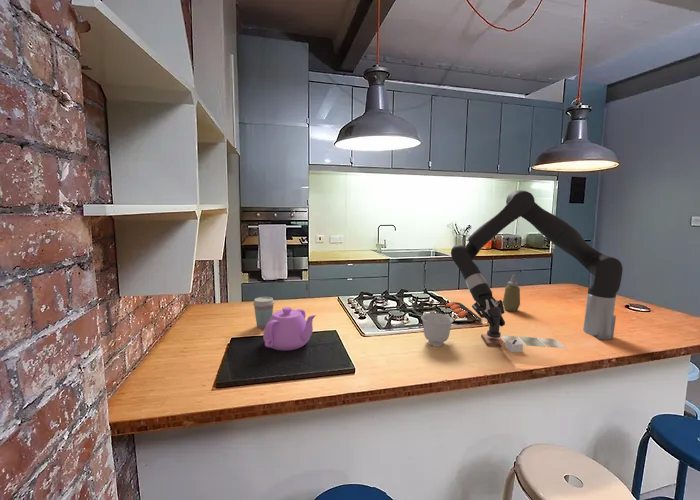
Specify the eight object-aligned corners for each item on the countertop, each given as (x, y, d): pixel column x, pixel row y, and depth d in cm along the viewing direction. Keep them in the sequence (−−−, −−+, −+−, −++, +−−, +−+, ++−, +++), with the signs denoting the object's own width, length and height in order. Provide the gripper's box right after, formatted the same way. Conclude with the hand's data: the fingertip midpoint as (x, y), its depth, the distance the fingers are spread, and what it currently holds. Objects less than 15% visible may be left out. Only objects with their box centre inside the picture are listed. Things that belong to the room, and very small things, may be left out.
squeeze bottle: (503, 306, 178) (506, 272, 176) (520, 309, 173) (524, 275, 171) (500, 310, 172) (503, 275, 169) (517, 313, 167) (521, 277, 164)
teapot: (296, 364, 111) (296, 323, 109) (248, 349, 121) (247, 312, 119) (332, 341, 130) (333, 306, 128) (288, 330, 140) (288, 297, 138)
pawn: (498, 333, 134) (500, 305, 132) (502, 338, 129) (504, 308, 127) (485, 332, 134) (487, 304, 133) (488, 337, 129) (491, 308, 128)
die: (515, 350, 125) (516, 338, 124) (522, 354, 121) (523, 343, 120) (505, 350, 124) (506, 339, 123) (511, 355, 120) (512, 343, 119)
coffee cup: (278, 326, 143) (278, 299, 142) (260, 332, 137) (260, 303, 136) (267, 321, 149) (266, 295, 148) (249, 326, 143) (249, 299, 141)
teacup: (461, 341, 132) (463, 316, 130) (441, 353, 121) (443, 326, 120) (434, 332, 140) (435, 309, 139) (413, 342, 129) (414, 317, 128)
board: (555, 341, 133) (555, 338, 133) (566, 351, 124) (567, 348, 124) (481, 336, 137) (481, 333, 136) (487, 346, 128) (487, 342, 128)
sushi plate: (484, 325, 152) (484, 316, 151) (417, 325, 150) (418, 317, 149) (459, 305, 180) (460, 298, 180) (403, 305, 179) (404, 298, 178)
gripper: (469, 283, 133) (489, 323, 124) (497, 281, 138) (519, 319, 129) (459, 293, 139) (478, 332, 129) (487, 290, 144) (507, 328, 134)
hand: (498, 325), depth 129 cm, fingers open, 3 cm apart
